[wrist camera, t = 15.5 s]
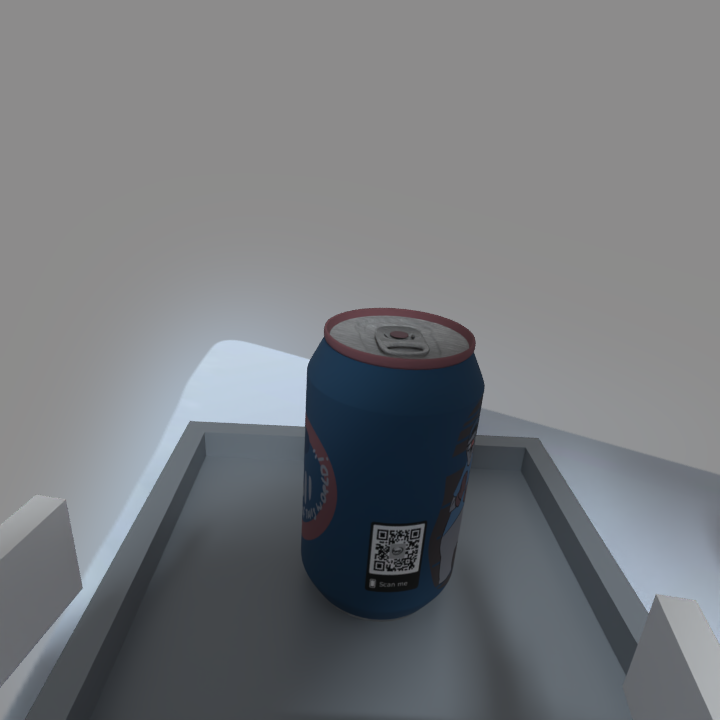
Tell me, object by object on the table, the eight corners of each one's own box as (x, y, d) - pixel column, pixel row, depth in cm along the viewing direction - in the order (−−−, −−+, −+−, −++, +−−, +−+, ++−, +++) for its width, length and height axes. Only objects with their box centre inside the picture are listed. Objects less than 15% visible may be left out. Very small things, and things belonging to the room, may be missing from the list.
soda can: (299, 523, 28) (306, 300, 23) (430, 521, 28) (462, 305, 24) (300, 639, 21) (309, 364, 17) (468, 632, 22) (522, 369, 17)
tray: (530, 471, 35) (538, 438, 34) (734, 845, 17) (763, 796, 16) (191, 455, 34) (189, 421, 33) (6, 835, 16) (-11, 783, 15)
